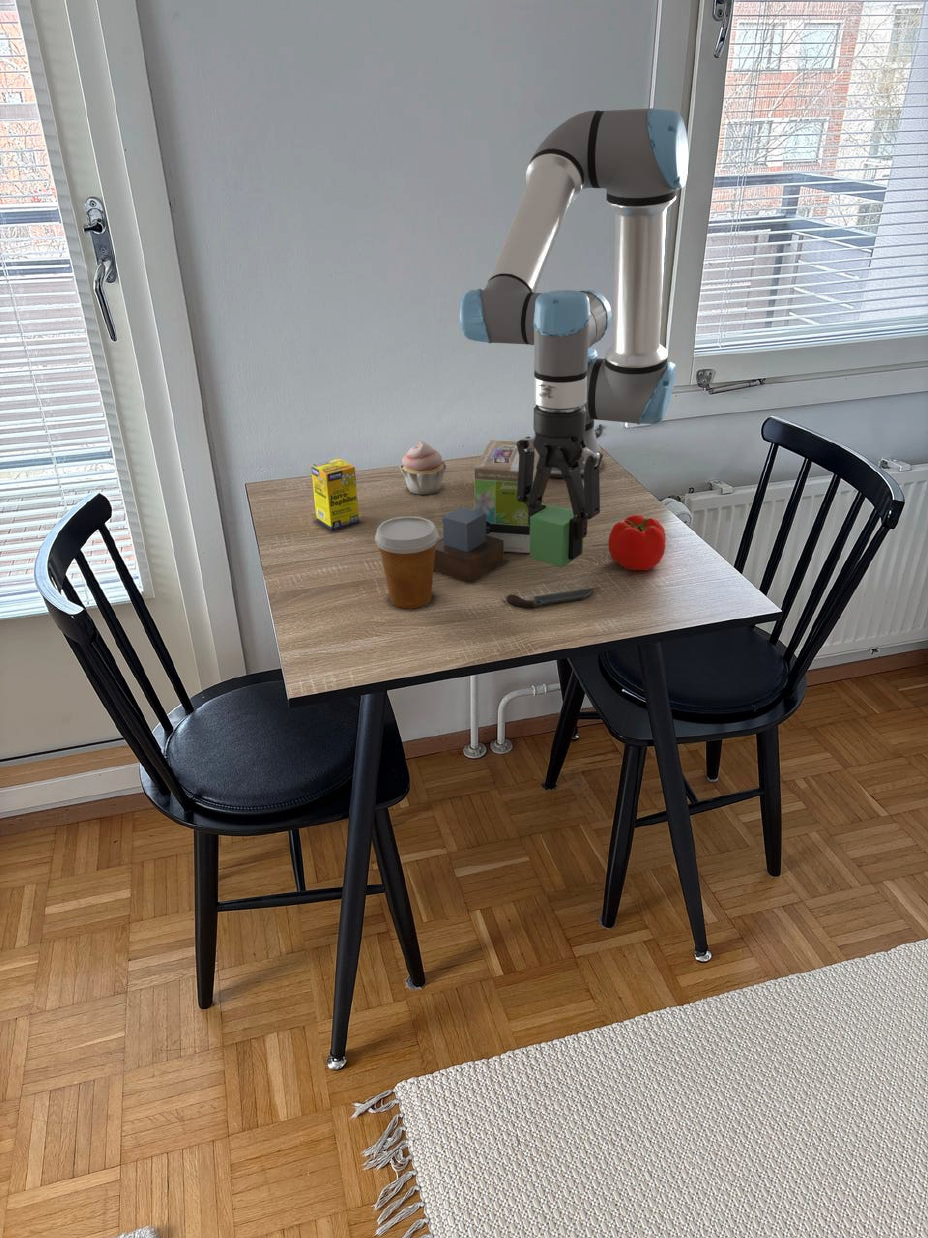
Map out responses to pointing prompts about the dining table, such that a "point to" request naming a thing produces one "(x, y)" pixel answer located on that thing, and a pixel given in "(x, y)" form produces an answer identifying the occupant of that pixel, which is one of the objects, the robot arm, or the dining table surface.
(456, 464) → the dining table surface
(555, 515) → the green block
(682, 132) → the robot arm
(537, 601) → the knife
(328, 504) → the supplement box
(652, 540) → the tomato
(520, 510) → the tea box
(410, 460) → the cupcake
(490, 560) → the walnut plinth
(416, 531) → the disposable coffee cup
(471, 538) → the slate block
